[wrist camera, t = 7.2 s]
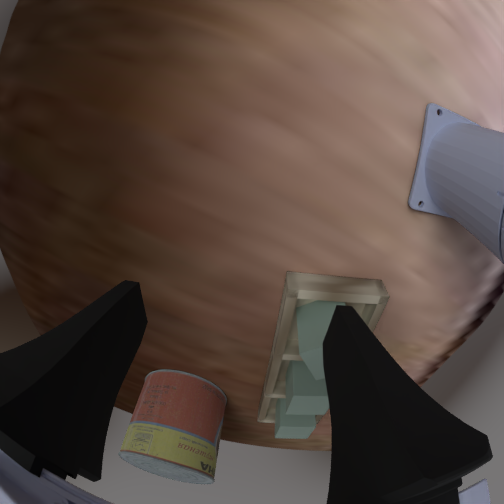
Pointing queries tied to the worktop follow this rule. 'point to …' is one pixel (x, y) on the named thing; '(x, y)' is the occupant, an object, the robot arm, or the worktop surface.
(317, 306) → the loose block
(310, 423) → the seated block
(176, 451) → the canned food
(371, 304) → the rack
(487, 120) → the worktop surface
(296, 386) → the seated block
